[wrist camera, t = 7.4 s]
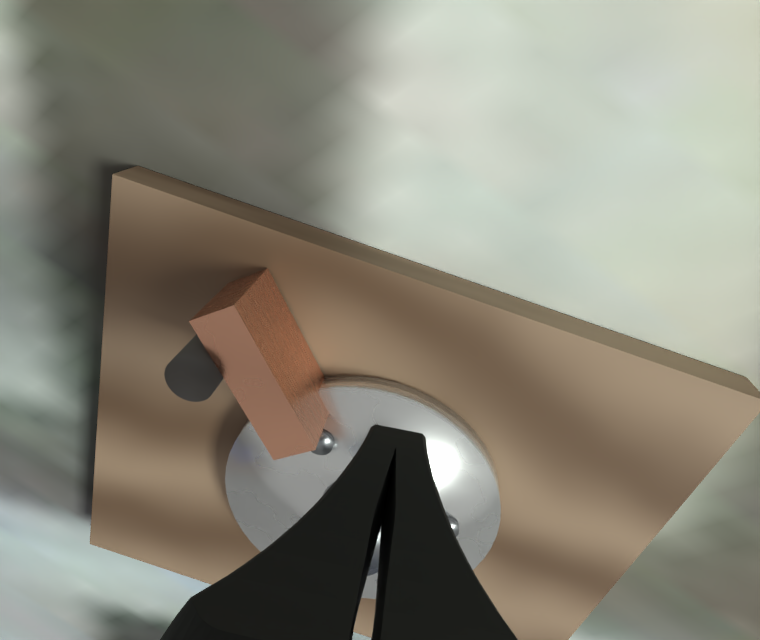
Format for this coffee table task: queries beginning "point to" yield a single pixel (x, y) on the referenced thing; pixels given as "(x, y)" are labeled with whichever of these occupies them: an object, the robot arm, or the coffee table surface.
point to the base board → (402, 365)
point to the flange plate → (326, 425)
